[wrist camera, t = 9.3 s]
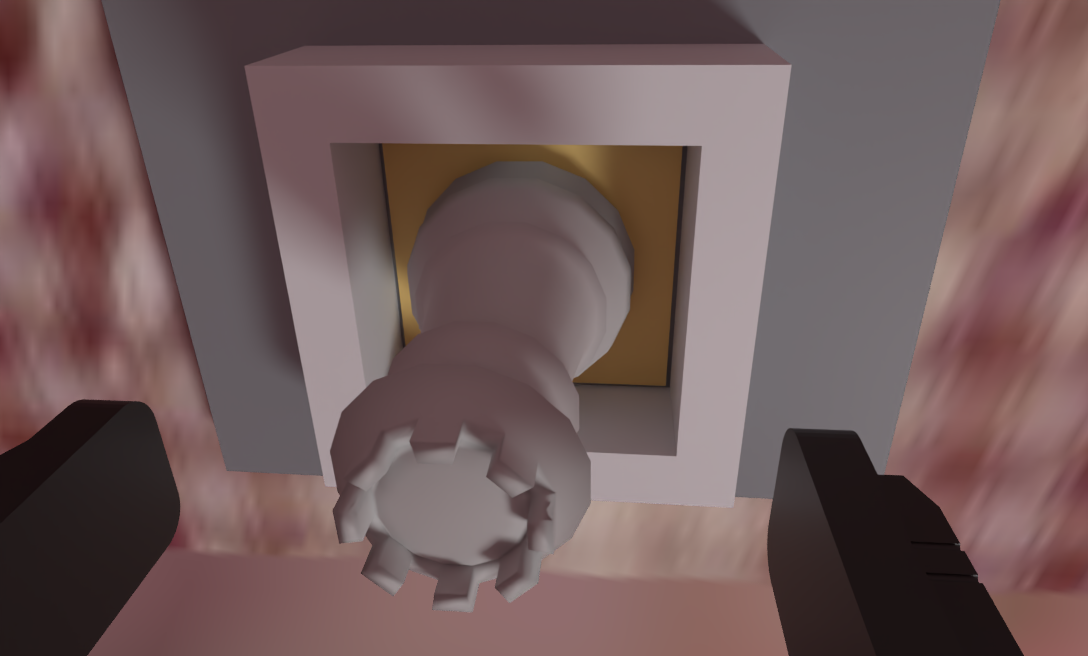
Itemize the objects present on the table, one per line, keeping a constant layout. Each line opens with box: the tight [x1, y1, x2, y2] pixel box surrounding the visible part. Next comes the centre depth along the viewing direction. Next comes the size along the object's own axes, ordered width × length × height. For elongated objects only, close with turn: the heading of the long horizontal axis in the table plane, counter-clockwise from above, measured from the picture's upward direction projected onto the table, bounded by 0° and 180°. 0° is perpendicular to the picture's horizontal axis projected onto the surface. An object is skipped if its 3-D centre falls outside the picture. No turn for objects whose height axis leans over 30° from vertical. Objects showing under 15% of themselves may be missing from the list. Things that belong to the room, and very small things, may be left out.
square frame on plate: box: [101, 0, 1000, 508], centre depth 15 cm, size 16×12×4 cm
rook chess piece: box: [330, 161, 635, 612], centre depth 12 cm, size 4×4×8 cm
